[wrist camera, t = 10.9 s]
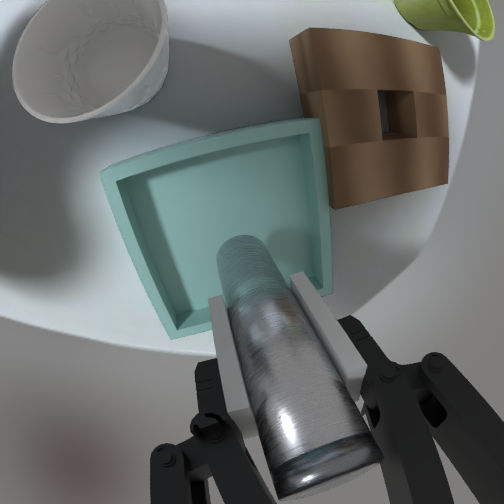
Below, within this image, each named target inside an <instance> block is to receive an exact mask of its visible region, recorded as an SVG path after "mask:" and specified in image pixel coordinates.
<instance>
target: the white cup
mask: <svg viewBox="0 0 504 504" xmlns="http://www.w3.org/2000/svg"><path fill="white" fill-rule="evenodd" d="M168 62H169V36H168V17H167V9H166V5H165V2H164V0H48V1H46V2H45V3H44V4H43V5H42V6H41V7H40V9H39V10H38V11H37V12H36V13H35V14H34V16H33V17H32V18H31V20H30V21H29V23H28V24H27V26H26V27H25V29H24V31H23V33H22V35H21V37H20V39H19V41H18V44H17V47H16V50H15V53H14V58H13V64H12V81H13V87H14V90H15V93H16V96H17V98H18V100H19V102H20V103H21V105H22V106H23V107H24V108H25V110H26V111H27V112H29V113H30V114H31V115H33V116H34V117H36V118H38V119H40V120H43V121H46V122H50V123H73V122H78V121H83V120H88V119H94V118H101V117H107V116H111V115H116V114H120V113H123V112H129V111H131V110H133V109H135V108H137V107H140V106H142V105H144V104H146V103H148V102H149V101H150V100H151V99H152V97H153V96H154V95H155V94H156V93H157V92H158V91H159V90H160V89H161V88H162V85H163V83H164V80H165V78H166V75H167V72H168Z"/></svg>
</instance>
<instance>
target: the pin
mask: <svg viewBox="0 0 504 504" xmlns="http://www.w3.org/2000/svg"><path fill="white" fill-rule="evenodd" d="M216 264H217V269H218V273H219V278H220V283H221V287H222V292H223V296H224V301H225V305H226V308H227V312H228V316H229V320H230V325H231V329H232V333H233V337H234V341H235V345H236V349H237V353H238V357H239V361H240V365H241V369H242V373H243V377H244V381H245V384H246V388H247V392H248V396H249V399H250V403H251V407H252V410H253V414H254V418H255V423H256V427H257V431H258V434H259V437H260V441H261V444H262V448H263V451H264V455H265V458H266V461H267V465H268V468H269V471H270V474H271V477H272V481H273V484H274V487H275V490H276V493H277V496H278V500H280V501H288V500H295V499H299V498H304V497H308V496H312V495H315V494H318V493H321V492H324V491H327V490H330V489H332V488H335V487H337V486H340V485H342V484H345V483H347V482H349V481H351V480H353V479H355V478H357V477H359V476H361V475H362V474H364V473H366V472H368V471H369V470H371V469H372V468H374V467H375V466H376V465H378V464H379V463H380V462H382V461H383V459H384V455H383V454H382V452H381V450H380V448H379V446H378V444H377V442H376V441H375V439H374V437H373V435H372V433H371V431H370V430H369V428H368V426H367V424H366V423H365V420H364V419H363V417H362V415H361V413H360V411H359V409H358V408H357V406H356V404H355V402H354V400H353V399H352V397H351V395H350V393H349V391H348V390H347V388H346V386H345V384H344V382H343V381H342V379H341V377H340V375H339V373H338V372H337V370H336V368H335V366H334V364H333V363H332V361H331V359H330V357H329V356H328V354H327V352H326V350H325V349H324V347H323V345H322V343H321V341H320V340H319V338H318V336H317V334H316V333H315V331H314V329H313V327H312V326H311V324H310V322H309V320H308V319H307V317H306V315H305V313H304V312H303V310H302V308H301V307H300V305H299V303H298V301H297V300H296V298H295V296H294V294H293V293H292V291H291V289H290V287H289V286H288V284H287V282H286V281H285V279H284V277H283V275H282V274H281V272H280V270H279V269H278V267H277V265H276V263H275V262H274V260H273V258H272V257H271V255H270V253H269V252H268V250H267V248H266V246H265V245H264V243H263V242H262V241H261V240H259V239H258V238H256V237H254V236H251V235H238V236H235V237H232V238H230V239H229V240H227V241H226V242H225V243H224V244H223V245H222V246H221V247H220V249H219V250H218V253H217V256H216Z"/></svg>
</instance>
